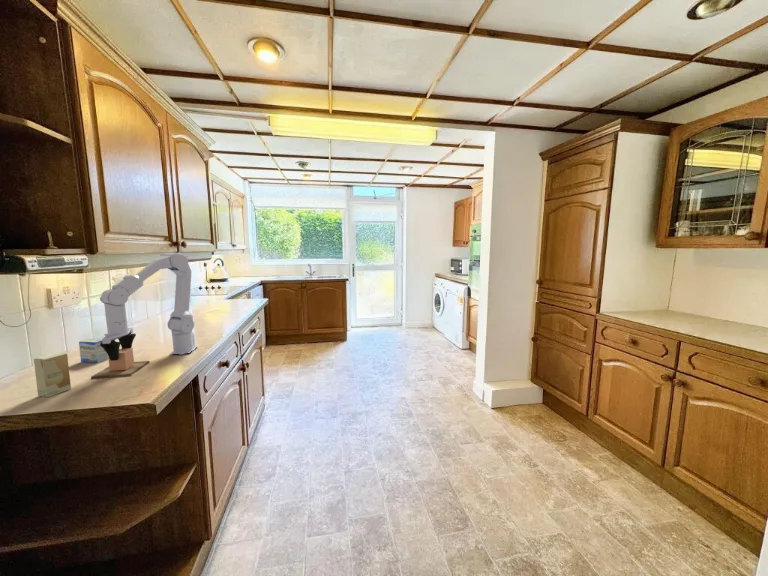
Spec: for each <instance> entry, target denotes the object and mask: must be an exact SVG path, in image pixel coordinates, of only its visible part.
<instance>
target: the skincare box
mask: <svg viewBox="0 0 768 576" xmlns="http://www.w3.org/2000/svg"><path fill="white" fill-rule="evenodd" d="M33 364H34V373H35V381H36V391H37V396H38V397H45V398H48V397H49V396H50V397H52V396H54V395H57V394H60V393H63V392H66V391H69V390H71V389H72V385H71V377H70V375H71V374H70V367H69V357H68V353H65V352H54V353H51V354H46V355H41V356H39V357H34V358H33ZM50 397H49V398H50Z"/></svg>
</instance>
